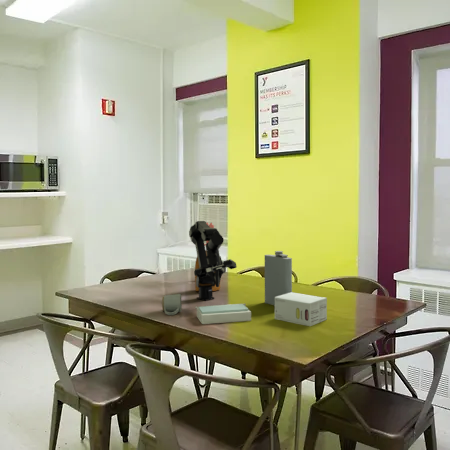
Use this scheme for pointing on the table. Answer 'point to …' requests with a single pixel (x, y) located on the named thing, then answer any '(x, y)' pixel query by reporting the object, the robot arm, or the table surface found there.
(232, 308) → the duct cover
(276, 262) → the flask
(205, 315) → the panel
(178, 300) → the ceramic mug
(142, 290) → the table surface
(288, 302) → the supplement box
